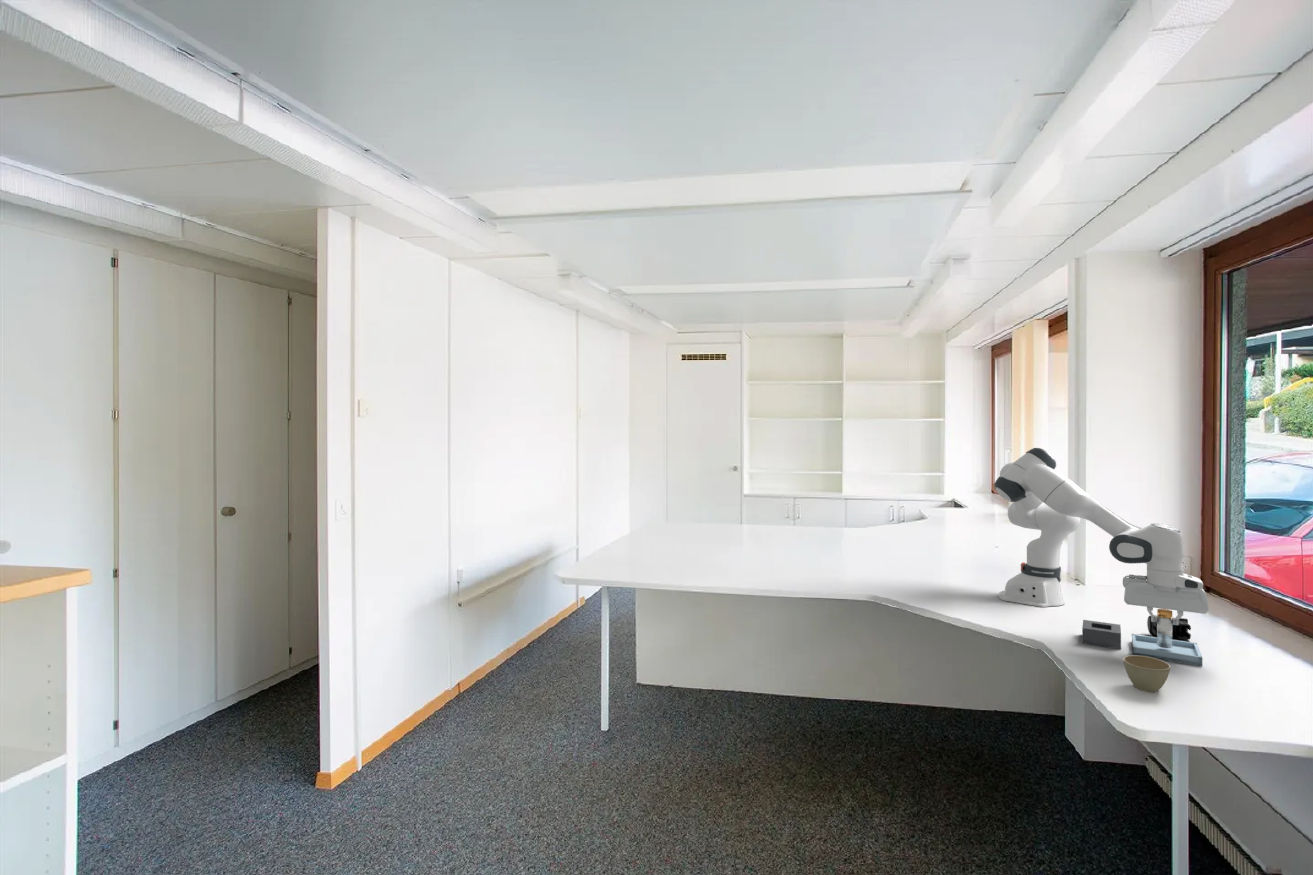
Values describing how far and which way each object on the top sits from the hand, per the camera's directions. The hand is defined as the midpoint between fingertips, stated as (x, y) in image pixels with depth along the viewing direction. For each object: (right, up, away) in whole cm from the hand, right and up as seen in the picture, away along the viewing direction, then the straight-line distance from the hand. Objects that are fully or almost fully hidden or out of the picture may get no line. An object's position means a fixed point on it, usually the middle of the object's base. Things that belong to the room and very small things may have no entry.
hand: (1164, 622), depth 195 cm
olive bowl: (-24, -11, -24) cm, 36 cm away
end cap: (+12, -9, +13) cm, 20 cm away
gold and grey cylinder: (0, -7, 0) cm, 7 cm away
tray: (0, -9, 0) cm, 9 cm away
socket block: (-12, -9, +11) cm, 18 cm away
